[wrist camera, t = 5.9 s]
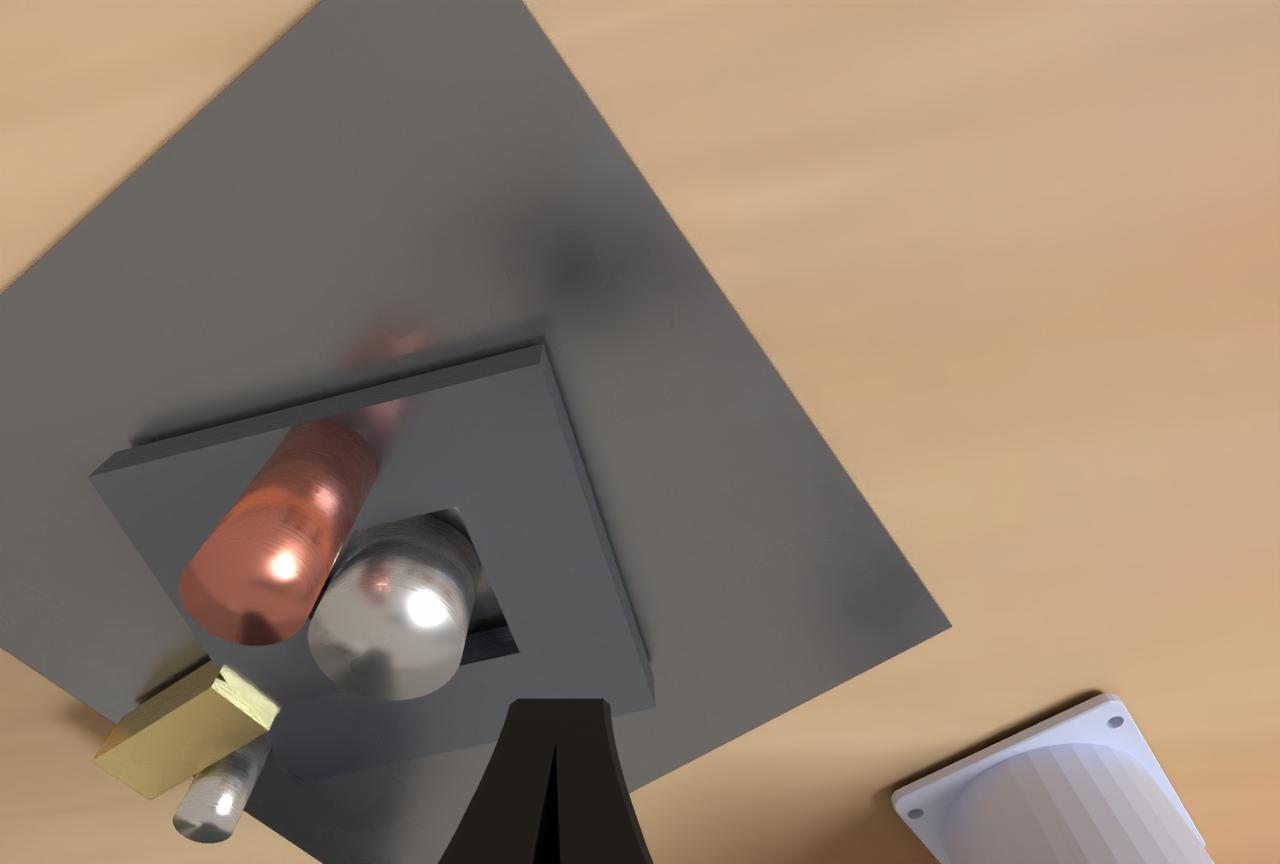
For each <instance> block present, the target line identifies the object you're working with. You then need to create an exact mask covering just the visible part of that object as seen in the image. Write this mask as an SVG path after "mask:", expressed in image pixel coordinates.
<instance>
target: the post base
mask: <svg viewBox="0 0 1280 864" xmlns="http://www.w3.org/2000/svg"><path fill="white" fill-rule="evenodd" d="M539 344H544V347H545V350H546V353H547V356H548V359H549V363H550V366H551V369H552V372H553V375H554V378H555V381H556V384H557V387H558V390H559V393H560V396H561V399H562V402H563V405H564V408H565V411H566V414H567V417H568V420H569V423H570V426H571V429H572V432H573V435H574V438H575V441H576V444H577V447H578V450H579V453H580V456H581V459H582V462H583V465H584V468H585V471H586V474H587V477H588V480H589V483H590V486H591V489H592V492H593V495H594V498H595V501H596V504H597V507H598V510H599V513H600V516H601V519H602V522H603V525H604V528H605V531H606V534H607V537H608V540H609V543H610V546H611V549H612V552H613V555H614V558H615V561H616V564H617V567H618V571H619V574H620V577H621V580H622V583H623V586H624V589H625V592H626V595H627V598H628V601H629V604H630V607H631V610H632V613H633V616H634V619H635V622H636V625H637V628H638V631H639V634H640V637H641V640H642V643H643V646H644V649H645V652H646V655H647V658H648V661H649V664H650V667H651V670H652V673H653V676H654V689H655V703H656V708H652V709H647V710H643V711H638V712H633V713H629V714H624V715H619V716H614V717H611V719H612V726H613V733H614V738H615V743H616V747H617V752H618V756H619V760H620V764H621V768H622V771H623V775H624V779H625V783H626V786H627V789H628V793H631V792H633V791H634V790H636V789H638V788H640V787H642V786H644V785H646V784H648V783H650V782H652V781H654V780H656V779H658V778H660V777H662V776H664V775H665V774H667V773H669V772H671V771H673V770H675V769H677V768H679V767H681V766H683V765H685V764H687V763H689V762H691V761H693V760H695V759H697V758H698V757H700V756H702V755H704V754H706V753H708V752H710V751H712V750H714V749H716V748H718V747H720V746H722V745H724V744H726V743H728V742H729V741H731V740H733V739H735V738H737V737H739V736H741V735H743V734H745V733H747V732H749V731H751V730H753V729H755V728H757V727H759V726H760V725H762V724H764V723H766V722H768V721H770V720H772V719H774V718H776V717H778V716H780V715H782V714H784V713H786V712H788V711H790V710H792V709H793V708H795V707H797V706H799V705H801V704H803V703H805V702H807V701H809V700H811V699H813V698H815V697H817V696H819V695H821V694H823V693H824V692H826V691H828V690H830V689H832V688H834V687H836V686H838V685H840V684H842V683H844V682H846V681H848V680H850V679H852V678H854V677H855V676H857V675H859V674H861V673H863V672H865V671H867V670H869V669H871V668H873V667H875V666H877V665H879V664H881V663H883V662H885V661H886V660H888V659H890V658H892V657H894V656H896V655H898V654H900V653H902V652H904V651H906V650H908V649H910V648H912V647H914V646H916V645H918V644H919V643H921V642H923V641H925V640H927V639H929V638H931V637H933V636H935V635H937V634H939V633H941V632H943V631H945V630H947V629H949V628H950V627H952V625H951V623H950V621H949V620H948V618H947V617H946V615H945V614H944V612H943V611H942V609H941V608H940V607H939V605H938V604H937V602H936V601H935V599H934V598H933V596H932V595H931V593H930V592H929V591H928V589H927V588H926V586H925V585H924V583H923V582H922V580H921V579H920V577H919V576H918V575H917V573H916V572H915V570H914V569H913V567H912V566H911V564H910V563H909V561H908V560H907V559H906V557H905V556H904V554H903V553H902V551H901V550H900V548H899V547H898V545H897V544H896V543H895V541H894V540H893V538H892V537H891V535H890V534H889V532H888V531H887V529H886V528H885V527H884V525H883V524H882V522H881V521H880V519H879V518H878V516H877V515H876V513H875V512H874V511H873V509H872V508H871V506H870V505H869V503H868V502H867V500H866V499H865V497H864V496H863V495H862V493H861V492H860V490H859V489H858V487H857V486H856V484H855V483H854V481H853V480H852V479H851V477H850V476H849V474H848V473H847V471H846V470H845V468H844V467H843V465H842V464H841V463H840V461H839V460H838V458H837V457H836V455H835V454H834V452H833V451H832V449H831V448H830V447H829V445H828V444H827V442H826V441H825V439H824V438H823V436H822V435H821V433H820V432H819V431H818V429H817V428H816V426H815V425H814V423H813V422H812V420H811V419H810V417H809V416H808V415H807V413H806V412H805V410H804V409H803V407H802V406H801V404H800V403H799V401H798V400H797V399H796V397H795V396H794V394H793V393H792V391H791V390H790V388H789V387H788V385H787V384H786V383H785V381H784V380H783V378H782V377H781V375H780V374H779V372H778V371H777V369H776V368H775V367H774V365H773V364H772V362H771V361H770V359H769V358H768V356H767V355H766V353H765V352H764V351H763V349H762V348H761V346H760V345H759V343H758V342H757V340H756V339H755V337H754V336H753V335H752V333H751V332H750V330H749V329H748V327H747V326H746V324H745V323H744V321H743V320H742V319H741V317H740V316H739V314H738V313H737V311H736V310H735V308H734V307H733V305H732V304H731V303H730V301H729V300H728V298H727V297H726V295H725V294H724V292H723V291H722V289H721V288H720V287H719V285H718V284H717V282H716V281H715V279H714V278H713V276H712V275H711V273H710V272H709V271H708V269H707V268H706V266H705V265H704V263H703V262H702V260H701V259H700V257H699V256H698V255H697V253H696V252H695V250H694V249H693V247H692V246H691V244H690V243H689V241H688V240H687V239H686V237H685V236H684V234H683V233H682V231H681V230H680V228H679V227H678V225H677V224H676V223H675V221H674V220H673V218H672V217H671V215H670V214H669V212H668V211H667V209H666V208H665V207H664V205H663V204H662V202H661V201H660V199H659V198H658V196H657V195H656V193H655V192H654V191H653V189H652V188H651V186H650V185H649V183H648V182H647V180H646V179H645V177H644V176H643V175H642V173H641V172H640V170H639V169H638V167H637V166H636V164H635V163H634V161H633V160H632V159H631V157H630V156H629V154H628V153H627V151H626V150H625V148H624V147H623V145H622V144H621V143H620V141H619V140H618V138H617V137H616V135H615V134H614V132H613V131H612V129H611V128H610V127H609V125H608V124H607V122H606V121H605V119H604V118H603V116H602V115H601V113H600V112H599V111H598V109H597V108H596V106H595V105H594V103H593V102H592V100H591V99H590V97H589V96H588V95H587V93H586V92H585V90H584V89H583V87H582V86H581V84H580V83H579V81H578V80H577V79H576V77H575V76H574V74H573V73H572V71H571V70H570V68H569V67H568V65H567V64H566V63H565V61H564V60H563V58H562V57H561V55H560V54H559V52H558V51H557V49H556V48H555V47H554V45H553V44H552V42H551V41H550V39H549V38H548V36H547V35H546V33H545V32H544V31H543V29H542V28H541V26H540V25H539V23H538V22H537V20H536V19H535V17H534V16H533V15H532V13H531V12H530V10H529V9H528V7H527V6H526V4H525V3H524V1H523V0H322V1H321V2H320V3H319V4H318V5H317V6H316V7H315V8H314V9H313V10H311V11H310V12H309V13H308V14H307V15H306V16H305V17H304V18H303V19H302V20H301V21H299V22H298V23H297V24H296V25H295V26H294V27H293V28H292V29H291V30H290V31H289V32H287V33H286V34H285V35H284V36H283V37H282V38H281V39H280V40H279V41H278V42H277V43H275V44H274V45H273V46H272V47H271V48H270V49H269V50H268V51H267V52H266V53H265V54H263V55H262V56H261V57H260V58H259V59H258V60H257V61H256V62H255V63H254V64H253V65H252V66H250V67H249V68H248V69H247V70H246V71H245V72H244V73H243V74H242V75H241V76H240V77H238V78H237V79H236V80H235V81H234V82H233V83H232V84H231V85H230V86H229V87H228V88H226V89H225V90H224V91H223V92H222V93H221V94H220V95H219V96H218V97H217V98H216V99H214V100H213V101H212V102H211V103H210V104H209V105H208V106H207V107H206V108H205V109H204V110H202V111H201V112H200V113H199V114H198V115H197V116H196V117H195V118H194V119H193V120H192V121H190V122H189V123H188V124H187V125H186V126H185V127H184V128H183V129H182V130H181V131H180V132H178V133H177V134H176V135H175V136H174V137H173V138H172V139H171V140H170V141H169V142H168V143H167V144H165V145H164V146H163V147H162V148H161V149H160V150H159V151H158V152H157V153H156V154H155V155H153V156H152V157H151V158H150V159H149V160H148V161H147V162H146V163H145V164H144V165H143V166H141V167H140V168H139V169H138V170H137V171H136V172H135V173H134V174H133V175H132V176H131V177H129V178H128V179H127V180H126V181H125V182H124V183H123V184H122V185H121V186H120V187H119V188H117V189H116V190H115V191H114V192H113V193H112V194H111V195H110V196H109V197H108V198H107V199H105V200H104V201H103V202H102V203H101V204H100V205H99V206H98V207H97V208H96V209H95V210H93V211H92V212H91V213H90V214H89V215H88V216H87V217H86V218H85V219H84V220H83V221H82V222H80V223H79V224H78V225H77V226H76V227H75V228H74V229H73V230H72V231H71V232H70V233H68V234H67V235H66V236H65V237H64V238H63V239H62V240H61V241H60V242H59V243H58V244H56V245H55V246H54V247H53V248H52V249H51V250H50V251H49V252H48V253H47V254H46V255H44V256H43V257H42V258H41V259H40V260H39V261H38V262H37V263H36V264H35V265H34V266H32V267H31V268H30V269H29V270H28V271H27V272H26V273H25V274H24V275H23V276H22V277H20V278H19V279H18V280H17V281H16V282H15V283H14V284H13V285H12V286H11V287H10V288H8V289H7V290H6V291H5V292H4V293H3V294H2V295H1V296H0V647H1V648H2V649H4V650H5V651H7V652H8V653H10V654H11V655H13V656H14V657H16V658H17V659H19V660H20V661H22V662H23V663H24V664H26V665H27V666H29V667H30V668H32V669H33V670H35V671H36V672H38V673H39V674H41V675H42V676H44V677H45V678H47V679H48V680H50V681H51V682H53V683H54V684H56V685H57V686H59V687H60V688H62V689H63V690H65V691H66V692H68V693H69V694H71V695H72V696H74V697H75V698H77V699H78V700H80V701H81V702H83V703H84V704H86V705H87V706H89V707H90V708H92V709H93V710H95V711H96V712H98V713H99V714H101V715H102V716H104V717H105V718H107V719H108V720H110V721H111V722H113V723H114V724H116V725H117V724H118V722H119V721H120V719H121V718H122V716H124V715H125V714H127V713H129V712H130V711H132V710H133V709H135V708H137V707H138V706H140V705H141V704H143V703H144V702H146V701H148V700H149V699H151V698H152V697H154V696H155V695H157V694H159V693H160V692H162V691H163V690H165V689H166V688H168V687H170V686H171V685H173V684H174V683H176V682H177V681H179V680H181V679H182V678H184V677H185V676H187V675H188V674H190V673H192V672H193V671H195V670H196V669H198V668H199V667H201V666H203V665H204V664H206V663H207V662H209V661H211V658H210V657H209V655H208V654H207V652H206V651H205V650H204V648H203V647H202V645H201V644H200V642H199V641H198V639H197V638H196V636H195V635H194V633H193V632H192V630H191V629H190V627H189V626H188V625H187V623H186V622H185V620H184V619H183V617H182V616H181V614H180V613H179V611H178V610H177V608H176V607H175V605H174V604H173V602H172V601H171V600H170V598H169V597H168V595H167V594H166V592H165V591H164V589H163V588H162V586H161V585H160V583H159V582H158V580H157V579H156V578H155V576H154V575H153V573H152V572H151V570H150V569H149V567H148V566H147V564H146V563H145V561H144V560H143V558H142V557H141V555H140V554H139V553H138V551H137V550H136V548H135V547H134V545H133V544H132V542H131V541H130V539H129V538H128V536H127V535H126V533H125V532H124V531H123V529H122V528H121V526H120V525H119V523H118V522H117V520H116V519H115V517H114V516H113V514H112V513H111V511H110V510H109V508H108V507H107V506H106V504H105V503H104V501H103V500H102V498H101V497H100V495H99V494H98V492H97V491H96V489H95V488H94V486H93V485H92V484H91V482H90V481H89V479H88V478H87V477H88V476H89V475H90V474H92V473H93V472H94V471H95V470H96V469H97V468H98V467H99V466H100V465H102V464H103V463H104V462H105V461H106V460H107V459H108V458H109V457H111V456H112V455H113V454H114V453H115V452H117V451H121V450H125V449H129V448H133V447H137V446H141V445H145V444H149V443H153V442H157V441H160V440H164V439H168V438H172V437H176V436H180V435H184V434H188V433H192V432H196V431H200V430H204V429H208V428H212V427H216V426H220V425H224V424H228V423H231V422H235V421H239V420H243V419H247V418H251V417H255V416H259V415H263V414H267V413H271V412H275V411H279V410H283V409H287V408H291V407H295V406H299V405H302V404H306V403H310V402H314V401H318V400H322V399H326V398H330V397H334V396H338V395H342V394H346V393H350V392H354V391H358V390H362V389H366V388H370V387H373V386H377V385H381V384H385V383H389V382H393V381H397V380H401V379H405V378H409V377H413V376H417V375H421V374H425V373H429V372H433V371H437V370H441V369H444V368H448V367H452V366H456V365H460V364H464V363H468V362H472V361H476V360H480V359H484V358H488V357H492V356H496V355H500V354H504V353H508V352H512V351H515V350H519V349H523V348H527V347H531V346H535V345H539ZM323 589H324V590H325V593H324V595H323V597H322V599H321V601H320V603H319V605H318V607H317V609H316V611H315V614H314V616H313V618H312V620H311V622H310V626H309V630H308V643H309V648H310V651H311V654H312V656H313V658H314V660H315V662H316V663H317V665H318V666H319V668H320V669H321V670H322V671H323V672H324V673H325V674H326V675H327V676H328V677H329V678H330V679H331V680H333V681H334V682H335V683H337V684H338V685H340V686H341V687H343V688H345V689H347V690H349V691H351V692H353V693H356V694H359V695H362V696H365V697H369V698H373V699H379V700H392V701H396V700H408V699H414V698H418V697H422V696H424V695H427V694H430V693H432V692H433V691H435V690H437V689H439V688H440V687H442V686H443V685H445V684H446V683H447V682H448V681H449V680H450V679H451V678H452V676H453V675H454V674H455V672H456V671H457V669H458V667H459V664H460V662H461V658H462V654H463V649H464V645H465V640H466V636H467V635H469V634H474V633H478V632H483V631H487V630H491V629H496V628H500V627H505V626H508V624H507V621H506V619H505V617H504V614H503V612H502V610H501V607H500V605H499V603H498V601H497V598H496V596H495V594H494V591H493V589H492V587H491V584H490V582H489V580H488V577H487V575H486V573H485V570H484V568H483V566H482V563H481V561H480V559H479V556H478V554H477V552H476V550H475V547H474V545H473V543H472V540H471V538H470V536H469V533H468V531H467V529H466V526H465V524H464V522H463V519H462V517H461V515H460V512H459V510H458V508H457V506H456V507H452V508H448V509H444V510H439V511H435V512H431V513H427V514H423V515H418V516H414V517H410V518H406V519H402V520H398V521H393V522H389V523H385V524H381V525H377V526H372V527H368V528H364V529H360V530H356V531H351V532H350V533H349V535H348V537H347V539H346V541H345V543H344V545H343V547H342V549H341V551H340V553H339V555H338V557H337V559H336V561H335V563H334V565H333V567H332V569H331V571H330V573H329V575H328V577H327V579H326V581H325V583H324V586H323ZM496 744H497V742H492V743H488V744H483V745H478V746H473V747H469V748H464V749H459V750H455V751H450V752H445V753H441V754H436V755H431V756H426V757H422V758H417V759H412V760H408V761H403V762H398V763H394V764H389V765H384V766H379V767H375V768H370V769H365V770H361V771H356V772H351V773H346V774H342V775H337V776H332V777H328V778H323V779H318V780H314V781H309V782H304V783H299V784H296V783H295V782H294V780H293V779H292V777H291V776H290V774H289V773H288V771H287V770H286V768H285V767H284V766H283V764H282V763H281V761H280V760H279V758H278V757H277V755H276V754H275V752H274V751H273V749H272V748H271V750H270V752H269V754H268V757H267V759H266V761H265V763H264V765H263V768H262V770H261V772H260V774H259V776H258V778H257V781H256V783H255V785H254V787H253V789H252V792H251V794H250V796H249V798H248V800H247V803H246V805H245V807H244V809H243V810H244V811H245V812H247V813H248V814H250V815H251V816H253V817H254V818H256V819H257V820H259V821H260V822H262V823H263V824H265V825H266V826H268V827H269V828H271V829H272V830H274V831H275V832H277V833H278V834H280V835H281V836H283V837H284V838H286V839H287V840H289V841H290V842H292V843H293V844H295V845H296V846H298V847H299V848H301V849H302V850H304V851H305V852H307V853H308V854H309V855H311V856H312V857H314V858H315V859H317V860H318V861H320V862H321V863H323V864H438V862H439V861H440V859H441V857H442V855H443V854H444V852H445V850H446V848H447V846H448V845H449V843H450V841H451V839H452V837H453V835H454V833H455V832H456V830H457V828H458V826H459V824H460V822H461V820H462V818H463V815H464V813H465V811H466V809H467V807H468V805H469V803H470V801H471V799H472V797H473V795H474V793H475V791H476V789H477V787H478V785H479V783H480V781H481V779H482V776H483V774H484V772H485V770H486V767H487V765H488V763H489V761H490V759H491V756H492V754H493V751H494V749H495V746H496ZM196 774H197V773H196ZM196 774H195V775H193V777H195V776H196Z"/></svg>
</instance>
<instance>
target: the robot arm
mask: <svg viewBox="0 0 1280 864" xmlns="http://www.w3.org/2000/svg"><path fill="white" fill-rule="evenodd" d="M891 801H892V804H893V807H894V809H895V811H896V812H897V814H898V815H899V816H900V817H901V818H902V819H903V820H904V822H905V823H906V824H907V825H908V826H909V827H910V829H911V830H912V831H913V832H914V833H915V834H916V835H917V837H918V838H919V839H920V840H921V841H922V842H923V844H924V845H925V846H926V847H927V848H928V849H929V851H930V852H931V853H932V854H933V855H934V856H935V857H936V859H937V860H938V861H939V862H940V863H941V864H1215V863H1214V862H1213V860H1212V859H1211V858H1210V856H1209V855H1208V853H1207V852H1206V851H1205V842H1204V840H1203V839H1202V837H1201V835H1200V833H1199V832H1198V830H1197V828H1196V827H1195V825H1194V823H1193V821H1192V820H1191V818H1190V816H1189V815H1188V813H1187V811H1186V809H1185V808H1184V806H1183V804H1182V803H1181V801H1180V799H1179V798H1178V796H1177V794H1176V792H1175V791H1174V789H1173V787H1172V786H1171V784H1170V782H1169V780H1168V779H1167V777H1166V775H1165V774H1164V772H1163V770H1162V768H1161V767H1160V765H1159V763H1158V762H1157V760H1156V758H1155V756H1154V755H1153V753H1152V751H1151V750H1150V748H1149V746H1148V745H1147V743H1146V741H1145V739H1144V738H1143V736H1142V734H1141V733H1140V731H1139V729H1138V727H1137V726H1136V724H1135V722H1134V721H1133V719H1132V717H1131V715H1130V714H1129V712H1128V710H1127V709H1126V707H1125V705H1124V704H1123V703H1122V701H1121V700H1120V699H1119V697H1118V696H1117V695H1115V694H1111V693H1103V694H1100V695H1097V696H1095V697H1093V698H1091V699H1089V700H1087V701H1085V702H1083V703H1080V704H1078V705H1076V706H1074V707H1072V708H1070V709H1068V710H1066V711H1063V712H1061V713H1059V714H1057V715H1055V716H1053V717H1051V718H1049V719H1046V720H1044V721H1042V722H1040V723H1038V724H1036V725H1034V726H1032V727H1029V728H1027V729H1025V730H1023V731H1021V732H1019V733H1017V734H1014V735H1012V736H1010V737H1008V738H1006V739H1004V740H1002V741H1000V742H997V743H995V744H993V745H991V746H989V747H987V748H985V749H983V750H980V751H978V752H976V753H974V754H972V755H970V756H968V757H966V758H963V759H961V760H959V761H957V762H955V763H953V764H951V765H949V766H946V767H944V768H942V769H940V770H938V771H936V772H934V773H932V774H929V775H927V776H925V777H923V778H921V779H919V780H917V781H915V782H912V783H910V784H908V785H906V786H904V787H902V788H900V789H898V790H896V791H895V792H894V793H893V795H892V797H891ZM438 864H653V861H652V859H651V856H650V853H649V851H648V848H647V846H646V843H645V840H644V837H643V834H642V831H641V828H640V825H639V823H638V820H637V817H636V814H635V811H634V808H633V805H632V802H631V799H630V796H629V793H628V789H627V786H626V783H625V779H624V775H623V771H622V768H621V764H620V760H619V756H618V752H617V747H616V743H615V738H614V733H613V726H612V719H611V707H610V704H609V703H608V702H607V701H605V700H604V699H603V698H579V699H516V700H515V701H514V702H513V703H511V704H510V706H509V709H508V713H507V716H506V719H505V722H504V725H503V728H502V731H501V733H500V736H499V739H498V741H497V744H496V746H495V749H494V751H493V754H492V756H491V759H490V761H489V763H488V765H487V767H486V770H485V772H484V774H483V776H482V779H481V781H480V783H479V785H478V787H477V789H476V791H475V793H474V795H473V797H472V799H471V801H470V803H469V805H468V807H467V809H466V811H465V813H464V815H463V818H462V820H461V822H460V824H459V826H458V828H457V830H456V832H455V833H454V835H453V837H452V839H451V841H450V843H449V845H448V846H447V848H446V850H445V852H444V854H443V855H442V857H441V859H440V861H439V862H438Z"/></svg>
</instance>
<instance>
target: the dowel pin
mask: <svg viewBox="0 0 1280 864" xmlns="http://www.w3.org/2000/svg"><path fill="white" fill-rule="evenodd" d="M270 750H271V746H270V745H269V744H268V742H267V741H266V739H265V738H264V736H263V735H260V736H259V737H257V738H255V739H254V740H252V741H250V742H249V743H247V744H245V745H244V746H242V747H240V748H238V749H237V750H235V751H233V752H232V753H230V754H228V755H227V756H225V757H223V758H222V759H220V760H218V761H217V762H215V763H213V764H211V765H210V766H208V767H206V768H205V769H203V770H201V771H200V772H198V773H197V774H196V776H195V778H194V780H193V781H192V783H191V785H190V787H189V789H188V791H187V793H186V794H185V796H184V798H183V800H182V802H181V804H180V806H179V807H178V809H177V811H176V813H175V815H174V817H173V824H174V826H175V828H176V830H177V831H178V832H179V833H180V834H181V835H183V836H184V837H186V838H188V839H190V840H193V841H196V842H201V843H217V842H221V841H224V840H226V839H228V838H229V837H230V836H231V835H232V833H233V831H234V829H235V827H236V825H237V822H238V820H239V818H240V816H241V814H242V811H243V809H244V807H245V805H246V803H247V800H248V798H249V796H250V794H251V792H252V789H253V787H254V785H255V783H256V781H257V778H258V776H259V774H260V772H261V770H262V768H263V765H264V763H265V761H266V759H267V757H268V754H269V752H270Z"/></svg>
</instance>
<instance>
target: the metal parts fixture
mask: <svg viewBox="0 0 1280 864" xmlns="http://www.w3.org/2000/svg"><path fill="white" fill-rule="evenodd" d="M87 478H88V479H89V481H90V482H91V484H92V485H93V486H94V488H95V489H96V491H97V492H98V494H99V495H100V497H101V498H102V500H103V501H104V503H105V504H106V506H107V507H108V508H109V510H110V511H111V513H112V514H113V516H114V517H115V519H116V520H117V522H118V523H119V525H120V526H121V528H122V529H123V531H124V532H125V533H126V535H127V536H128V538H129V539H130V541H131V542H132V544H133V545H134V547H135V548H136V550H137V551H138V553H139V554H140V555H141V557H142V558H143V560H144V561H145V563H146V564H147V566H148V567H149V569H150V570H151V572H152V573H153V575H154V576H155V578H156V579H157V580H158V582H159V583H160V585H161V586H162V588H163V589H164V591H165V592H166V594H167V595H168V597H169V598H170V600H171V601H172V602H173V604H174V605H175V607H176V608H177V610H178V611H179V613H180V614H181V616H182V617H183V619H184V620H185V622H186V623H187V625H188V626H189V627H190V629H191V630H192V632H193V633H194V635H195V636H196V638H197V639H198V641H199V642H200V644H201V645H202V647H203V648H204V650H205V651H206V652H207V654H208V655H209V657H210V658H211V661H209V662H207V663H206V664H204V665H203V666H201V667H199V668H198V669H196V670H195V671H193V672H192V673H190V674H188V675H187V676H185V677H184V678H182V679H181V680H179V681H177V682H176V683H174V684H173V685H171V686H170V687H168V688H166V689H165V690H163V691H162V692H160V693H159V694H157V695H155V696H154V697H152V698H151V699H149V700H148V701H146V702H144V703H143V704H141V705H140V706H138V707H137V708H135V709H133V710H132V711H130V712H129V713H127V714H125V715H124V716H122V718H121V719H120V721H119V722H118V724H117V725H116V727H115V728H114V730H113V731H112V732H111V734H110V735H109V737H108V738H107V740H106V741H105V743H104V744H103V746H102V747H101V748H100V750H99V751H98V753H97V754H96V756H95V757H94V759H93V760H92V761H91V762H92V763H94V764H95V765H97V766H98V767H100V768H101V769H103V770H104V771H106V772H107V773H109V774H111V775H112V776H114V777H115V778H117V779H118V780H120V781H121V782H123V783H124V784H126V785H127V786H129V787H130V788H132V789H133V790H135V791H136V792H138V793H139V794H141V795H142V796H144V797H145V798H147V799H148V800H150V801H151V800H152V799H154V798H156V797H157V796H159V795H161V794H162V793H164V792H166V791H167V790H169V789H171V788H173V787H174V786H176V785H178V784H179V783H181V782H183V781H184V780H186V779H188V778H189V777H191V776H193V775H195V774H196V773H198V772H200V771H201V770H203V769H205V768H206V767H208V766H210V765H211V764H213V763H215V762H217V761H218V760H220V759H222V758H223V757H225V756H227V755H228V754H230V753H232V752H233V751H235V750H237V749H238V748H240V747H242V746H244V745H245V744H247V743H249V742H250V741H252V740H254V739H255V738H257V737H259V736H260V735H263V736H264V738H265V739H266V741H267V742H268V744H269V745H270V746H271V748H272V749H273V751H274V752H275V754H276V755H277V757H278V758H279V760H280V761H281V763H282V764H283V766H284V767H285V768H286V770H287V771H288V773H289V774H290V776H291V777H292V779H293V780H294V782H295V783H296V784H299V783H304V782H309V781H314V780H318V779H323V778H328V777H332V776H337V775H342V774H346V773H351V772H356V771H361V770H365V769H370V768H375V767H379V766H384V765H389V764H394V763H398V762H403V761H408V760H412V759H417V758H422V757H426V756H431V755H436V754H441V753H445V752H450V751H455V750H459V749H464V748H469V747H473V746H478V745H483V744H488V743H492V742H497V741H498V739H499V736H500V733H501V731H502V728H503V725H504V722H505V719H506V716H507V713H508V709H509V706H510V704H511V703H513V702H514V701H515V700H516V699H579V698H603V699H604V700H605V701H607V702H608V703H609V704H610V707H611V717H614V716H619V715H624V714H629V713H633V712H638V711H643V710H647V709H652V708H656V703H655V689H654V676H653V673H652V670H651V667H650V664H649V661H648V658H647V655H646V652H645V649H644V646H643V643H642V640H641V637H640V634H639V631H638V628H637V625H636V622H635V619H634V616H633V613H632V610H631V607H630V604H629V601H628V598H627V595H626V592H625V589H624V586H623V583H622V580H621V577H620V574H619V571H618V567H617V564H616V561H615V558H614V555H613V552H612V549H611V546H610V543H609V540H608V537H607V534H606V531H605V528H604V525H603V522H602V519H601V516H600V513H599V510H598V507H597V504H596V501H595V498H594V495H593V492H592V489H591V486H590V483H589V480H588V477H587V474H586V471H585V468H584V465H583V462H582V459H581V456H580V453H579V450H578V447H577V444H576V441H575V438H574V435H573V432H572V429H571V426H570V423H569V420H568V417H567V414H566V411H565V408H564V405H563V402H562V399H561V396H560V393H559V390H558V387H557V384H556V381H555V378H554V375H553V372H552V369H551V366H550V363H549V359H548V356H547V353H546V350H545V347H544V344H539V345H535V346H531V347H527V348H523V349H519V350H515V351H512V352H508V353H504V354H500V355H496V356H492V357H488V358H484V359H480V360H476V361H472V362H468V363H464V364H460V365H456V366H452V367H448V368H444V369H441V370H437V371H433V372H429V373H425V374H421V375H417V376H413V377H409V378H405V379H401V380H397V381H393V382H389V383H385V384H381V385H377V386H373V387H370V388H366V389H362V390H358V391H354V392H350V393H346V394H342V395H338V396H334V397H330V398H326V399H322V400H318V401H314V402H310V403H306V404H302V405H299V406H295V407H291V408H287V409H283V410H279V411H275V412H271V413H267V414H263V415H259V416H255V417H251V418H247V419H243V420H239V421H235V422H231V423H228V424H224V425H220V426H216V427H212V428H208V429H204V430H200V431H196V432H192V433H188V434H184V435H180V436H176V437H172V438H168V439H164V440H160V441H157V442H153V443H149V444H145V445H141V446H137V447H133V448H129V449H125V450H121V451H117V452H115V453H114V454H113V455H112V456H111V457H109V458H108V459H107V460H106V461H105V462H104V463H103V464H102V465H100V466H99V467H98V468H97V469H96V470H95V471H94V472H93V473H92V474H90V475H89V476H88V477H87ZM456 506H457V508H458V510H459V512H460V515H461V517H462V519H463V522H464V524H465V526H466V529H467V531H468V533H469V536H470V538H471V540H472V543H473V545H474V547H475V550H476V552H477V554H478V556H479V559H480V561H481V563H482V566H483V568H484V570H485V573H486V575H487V577H488V580H489V582H490V584H491V587H492V589H493V591H494V594H495V596H496V598H497V601H498V603H499V605H500V607H501V610H502V612H503V614H504V617H505V619H506V621H507V624H508V626H505V627H500V628H496V629H491V630H487V631H483V632H478V633H474V634H469V635H467V636H466V640H465V645H464V649H463V654H462V658H461V662H460V664H459V667H458V669H457V671H456V672H455V674H454V675H453V676H452V678H451V679H450V680H449V681H448V682H447V683H446V684H445V685H443V686H442V687H440V688H439V689H437V690H435V691H433V692H432V693H430V694H427V695H424V696H422V697H418V698H414V699H408V700H396V701H392V700H379V699H373V698H369V697H365V696H362V695H359V694H356V693H353V692H351V691H349V690H347V689H345V688H343V687H341V686H340V685H338V684H337V683H335V682H334V681H333V680H331V679H330V678H329V677H328V676H327V675H326V674H325V673H324V672H323V671H322V670H321V669H320V668H319V666H318V665H317V663H316V662H315V660H314V658H313V656H312V654H311V651H310V648H309V643H308V630H309V626H310V622H311V620H312V618H313V616H314V614H315V611H316V609H317V607H318V605H319V603H320V601H321V599H322V597H323V595H324V593H325V590H324V589H323V586H324V583H325V581H326V579H327V577H328V575H329V573H330V571H331V569H332V567H333V565H334V563H335V561H336V559H337V557H338V555H339V553H340V551H341V549H342V547H343V545H344V543H345V541H346V539H347V537H348V535H349V533H350V532H351V531H356V530H360V529H364V528H368V527H372V526H377V525H381V524H385V523H389V522H393V521H398V520H402V519H406V518H410V517H414V516H418V515H423V514H427V513H431V512H435V511H439V510H444V509H448V508H452V507H456Z"/></svg>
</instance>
